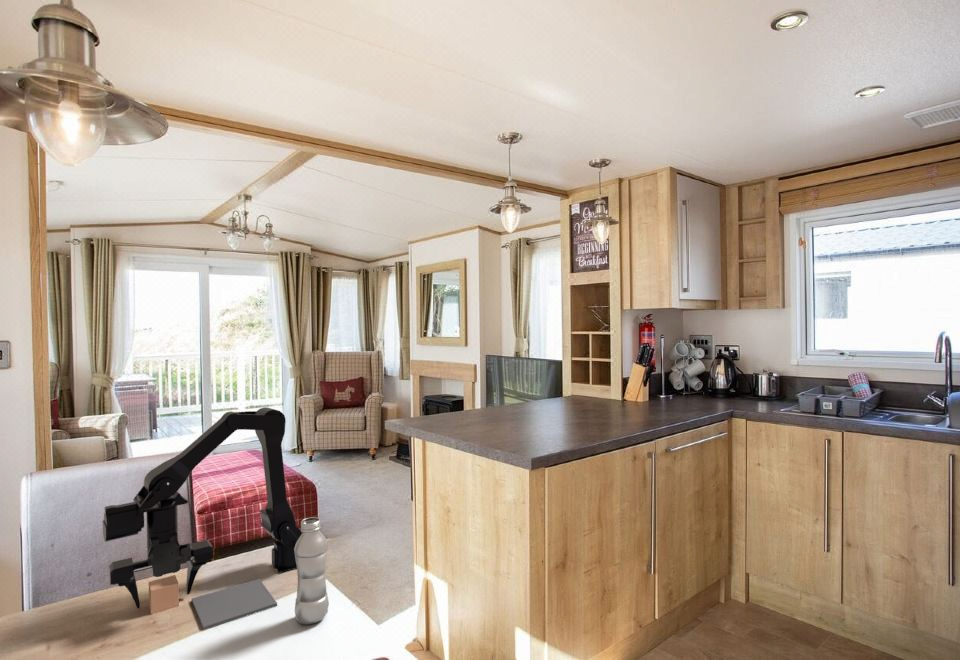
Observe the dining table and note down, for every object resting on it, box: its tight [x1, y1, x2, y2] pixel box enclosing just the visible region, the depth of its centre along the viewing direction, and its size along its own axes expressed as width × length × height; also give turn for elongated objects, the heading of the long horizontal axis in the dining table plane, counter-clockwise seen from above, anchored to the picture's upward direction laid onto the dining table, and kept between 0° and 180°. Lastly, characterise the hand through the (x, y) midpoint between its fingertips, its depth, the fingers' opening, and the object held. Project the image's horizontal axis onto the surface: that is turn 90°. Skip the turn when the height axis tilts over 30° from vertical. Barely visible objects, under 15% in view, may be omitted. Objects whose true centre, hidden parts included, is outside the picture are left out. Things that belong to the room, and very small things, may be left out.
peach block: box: [148, 574, 180, 615], centre depth 111 cm, size 5×5×5 cm
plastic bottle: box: [294, 516, 330, 625], centre depth 105 cm, size 6×7×20 cm
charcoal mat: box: [191, 578, 278, 631], centre depth 111 cm, size 14×14×1 cm
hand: (163, 600), depth 111 cm, fingers open, 9 cm apart
